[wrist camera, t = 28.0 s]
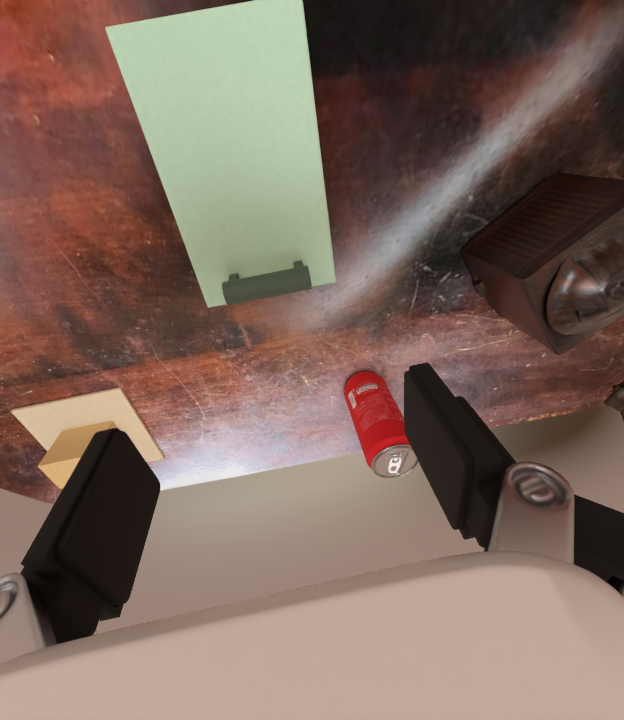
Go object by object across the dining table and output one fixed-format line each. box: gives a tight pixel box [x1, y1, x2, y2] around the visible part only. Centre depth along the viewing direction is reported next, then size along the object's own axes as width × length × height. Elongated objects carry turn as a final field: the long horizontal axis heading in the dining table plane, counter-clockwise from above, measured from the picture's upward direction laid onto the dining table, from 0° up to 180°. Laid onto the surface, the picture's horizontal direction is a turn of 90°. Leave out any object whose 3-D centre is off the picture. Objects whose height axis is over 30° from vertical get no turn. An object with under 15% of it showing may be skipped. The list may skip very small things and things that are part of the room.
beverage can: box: [344, 371, 419, 478], centre depth 36 cm, size 5×5×12 cm
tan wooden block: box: [38, 421, 117, 489], centre depth 37 cm, size 6×4×5 cm, turn 99°
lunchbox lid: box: [105, 0, 336, 308], centre depth 21 cm, size 16×11×5 cm, turn 9°
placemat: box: [11, 387, 165, 463], centre depth 39 cm, size 12×12×1 cm
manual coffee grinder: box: [461, 173, 624, 420], centre depth 28 cm, size 16×11×18 cm
